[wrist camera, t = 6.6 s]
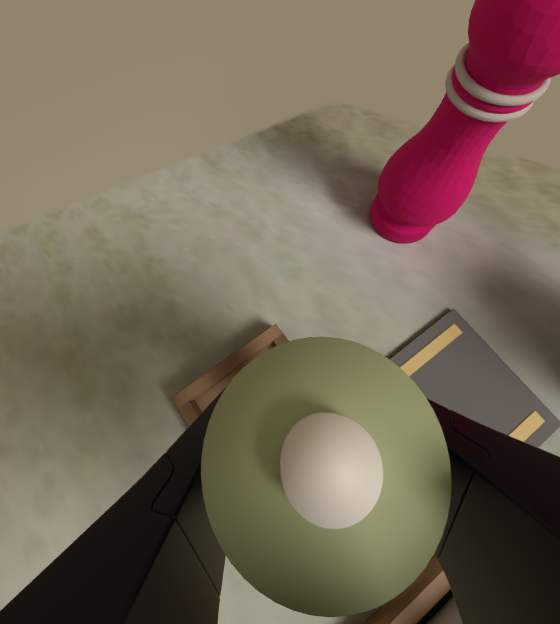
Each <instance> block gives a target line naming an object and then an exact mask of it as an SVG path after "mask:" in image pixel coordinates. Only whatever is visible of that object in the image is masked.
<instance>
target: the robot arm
mask: <svg viewBox="0 0 560 624" xmlns="http://www.w3.org/2000/svg"><path fill="white" fill-rule="evenodd" d="M225 389H226V387H225V388H224V389H223V390H222V391H221V392H220V393H219V394H218V395H217V397H216V398H215V399H214V400H213V401H212V402H211V403H210V404H209V405H208V406H207V408H206V409H205V410H204V411H203V412H202V413H201V414H200V415H199V416H198V417H197V419H196V420H195V421H194V422H193V423H192V424H191V425H190V426H189V427H188V428H187V429H186V431H185V432H184V433H183V434H182V435H181V436H180V437H179V438H178V439H177V440H176V442H175V443H174V444H173V445H172V446H171V447H170V448H169V449H168V450H167V452H166V453H164V454H163V455H162V456H161V458H160V459H159V460H158V461H157V462H156V463H155V464H154V465H153V466H152V467H151V468H150V469H149V470H148V471H147V472H146V473H145V475H144V476H143V477H142V478H141V479H139V480H138V481H137V482H136V483H135V484H134V485H133V486H132V487H131V488H130V489H129V490H128V491H127V492H126V493H125V494H124V495H123V496H122V497H121V498H120V499H119V500H118V501H117V502H115V503H114V504H113V505H112V506H111V507H110V508H109V509H108V510H107V511H106V512H105V513H104V514H103V515H102V516H101V517H100V518H98V519H97V520H96V521H95V522H94V523H93V524H92V525H91V526H90V527H89V528H88V529H87V530H86V531H85V532H84V533H83V534H81V535H80V536H79V537H78V538H77V539H76V540H75V541H74V542H73V543H72V544H71V545H70V546H69V547H68V548H67V549H66V550H64V551H63V552H62V553H61V554H60V555H59V556H58V557H57V558H56V559H55V560H54V561H53V562H52V563H51V564H50V565H49V566H48V567H46V568H45V569H44V570H43V571H42V572H41V573H40V574H39V575H38V576H37V577H36V578H35V579H34V580H33V581H32V582H31V583H29V584H28V585H27V586H26V587H25V588H24V589H23V590H22V591H21V592H20V593H19V594H18V595H17V596H16V597H15V598H14V599H12V600H11V601H10V602H9V603H8V604H7V605H6V606H5V607H4V608H3V609H2V610H1V611H0V624H218V611H219V602H220V597H219V596H220V594H221V586H222V579H223V571H224V564H225V556H226V554H225V553H224V551H223V550H222V548H221V546H220V544H219V542H218V540H217V538H216V536H215V534H214V532H213V530H212V527H211V524H210V521H209V518H208V515H207V512H206V507H205V502H204V498H203V492H202V481H201V458H202V450H203V444H204V438H205V434H206V430H207V427H208V423H209V420H210V418H211V415H212V413H213V410H214V408H215V406H216V404H217V402H218V400H219V399H220V397H221V395H222V393H223V392H224V390H225ZM427 400H428V402H429V404H430V405H431V407H432V409H433V410H434V412H435V415H436V417H437V419H438V421H439V423H440V426H441V428H442V431H443V435H444V438H445V441H446V444H447V449H448V454H449V459H450V467H451V480H452V481H451V501H450V507H449V513H448V518H447V522H446V525H445V528H444V532H443V535H442V538H441V540H440V542H439V544H438V546H437V549H436V551H435V555H436V557H437V558H438V561H439V563H440V565H441V567H442V569H443V571H444V573H445V575H446V578H447V580H448V582H449V585H450V588H451V590H452V593H453V596H454V599H455V602H456V605H457V608H458V611H459V614H460V617H461V620H462V623H463V624H560V457H558V456H556V455H554V454H551V453H549V452H546V451H544V450H542V449H539V448H537V447H534V446H532V445H530V444H527V443H525V442H522V441H520V440H518V439H515V438H513V437H510V436H508V435H506V434H503V433H501V432H499V431H496V430H494V429H492V428H489V427H487V426H485V425H482V424H480V423H478V422H476V421H474V420H472V419H469V418H467V417H465V416H463V415H461V414H459V413H457V412H455V411H453V410H449V409H448V408H446V407H444V406H442V405H440V404H438V403H436V402H434V401H432V400H430V399H428V398H427Z"/></svg>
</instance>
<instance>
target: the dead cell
mask: <svg viewBox="0 0 560 624" xmlns="http://www.w3.org/2000/svg"><path fill="white" fill-rule="evenodd" d="M426 624H463V623H462V620H461V617H460V614H459V611H458V608H457V605H456V602H455V599H454V596H452V598H451V599H450V600H449V601H448V602H447V603H446V604H445V605H444V606H443V607H442V608H441V609H440V610H439V611H438V612H437V613H436V614H435V615H434V616H433V617H432V618H431V619H430V620H429V621H428V622H427V623H426Z"/></svg>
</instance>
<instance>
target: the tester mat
mask: <svg viewBox="0 0 560 624" xmlns="http://www.w3.org/2000/svg"><path fill="white" fill-rule="evenodd" d="M389 360H391V361H392V362H393V363H395V364H396V365H397V366H398V367H399V368H401V369H402V370H403V371H404V372H405V373H406V374H407V375H408V376H409V377H410V378H411V379H412V380H413V381H414V382H415V383H416V385H417V386H418V387H419V389H420V390H421V391H422V393H423V394H424V395H425V397H426V398H428V399H430V400H432V401H434V402H436V403H438V404H440V405H442V406H444V407H446V408H448V409H449V410H453V411H455V412H457V413H459V414H461V415H463V416H465V417H467V418H469V419H472V420H474V421H476V422H478V423H480V424H482V425H485V426H487V427H489V428H492V429H494V430H496V431H499V432H501V433H503V434H506V435H508V436H510V437H513V438H515V439H518V440H520V441H522V442H525V443H527V444H530V445H532V446H534V447H537V448H538V447H539V446H541V445H542V444H543V443H544V442H545V441H546V440H547V439H548V438H549V437H550V436H551V435H552V434H553V433H554V432H555V431H556V430H557V429H558V428H559V427H560V421H559V420H558V419H557V418H556V417H555V416H554V415H553V414H552V412H551V411H550V410H549V409H548V408H547V407H546V406H545V405H544V404H543V403H542V402H541V401H540V400H539V399H538V398H537V397H536V395H535V394H534V393H533V392H532V391H531V390H530V389H529V388H528V387H527V386H526V385H525V384H524V383H523V382H522V381H521V380H520V378H519V377H518V376H517V375H516V374H515V373H514V372H513V371H512V370H511V369H510V368H509V367H508V366H507V365H506V364H505V363H504V362H503V360H502V359H501V358H500V357H499V356H498V355H497V354H496V353H495V352H494V351H493V350H492V349H491V348H490V347H489V346H488V345H487V343H486V342H485V341H484V340H483V339H482V338H481V337H480V336H479V335H478V334H477V333H476V332H475V331H474V330H473V329H472V328H471V326H470V325H469V324H468V323H467V322H466V321H465V320H464V319H463V318H462V317H461V316H460V315H459V314H458V313H457V312H456V311H455V309H452V310H450V311H449V312H448V313H446V314H445V315H444V316H443V317H441V318H440V319H439V320H438V321H436V322H435V323H434V324H433V325H431V326H430V327H429V328H428V329H426V330H425V331H424V332H423V333H421V334H420V335H419V336H418V337H416V338H415V339H414V340H413V341H411V342H410V343H409V344H407V345H406V346H405V347H404V348H402V349H401V350H400V351H399V352H397V353H396V354H395V355H394V356H392V357H391V358H390V359H389Z"/></svg>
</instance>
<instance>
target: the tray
mask: <svg viewBox="0 0 560 624" xmlns="http://www.w3.org/2000/svg"><path fill="white" fill-rule="evenodd" d="M286 342H289V341H288V339H287V338H286V337H285V335H284V334H283V333H282V331H281V330H280V329H279V327H278V326H277V325H276V324H275V325H273V326H272V327H270V328H269V329H268V330H266V331H265V332H263V333H262V334H260V335H259V336H258V337H256V338H255V339H253V340H252V341H251V342H249V343H248V344H246V345H245V346H243V347H242V348H241V349H239V350H238V351H236V352H235V353H234V354H232V355H231V356H229V357H228V358H226V359H225V360H224V361H222V362H221V363H219V364H218V365H217V366H215V367H214V368H212V369H211V370H210V371H208V372H207V373H205V374H204V375H202V376H201V377H200V378H198V379H197V380H195V381H194V382H193V383H191V384H190V385H188V386H187V387H185V388H184V389H183V390H181V391H180V392H178V393H177V394H176V395H174V396H173V397H171V399H172V400H173V402H174V404H175V405H176V407H177V409H178V410H179V412H180V414H181V416H182V417H183V419H184V421H185V422H186V424H187V426H188V427H189V426H190V425H191V424H192V423H193V422H194V421H195V420H196V419H197V417H198V416H199V415H200V414H201V413H202V412H203V411H204V410H205V409H206V408H207V406H208V405H209V404H210V403H211V402H212V401H213V400H214V399H215V398H216V397H217V395H218V394H219V393H220V392H221V391H222V390H223V389H224V388H225V387H227V386H228V385H229V383H230V382H231V381H232V379H233V378H234V377H235V376H236V375H237V374H238V373H239V372H240V371H241V370H242V369H243V368H244V367H245V366H246V365H247V364H248V363H250V362H251V361H252V360H253V359H254V358H256V357H258V356H259V355H261V354H262V353H264V352H265V351H267V350H269V349H271V348H274V347H276V346H278V345H280V344H283V343H286Z"/></svg>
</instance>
